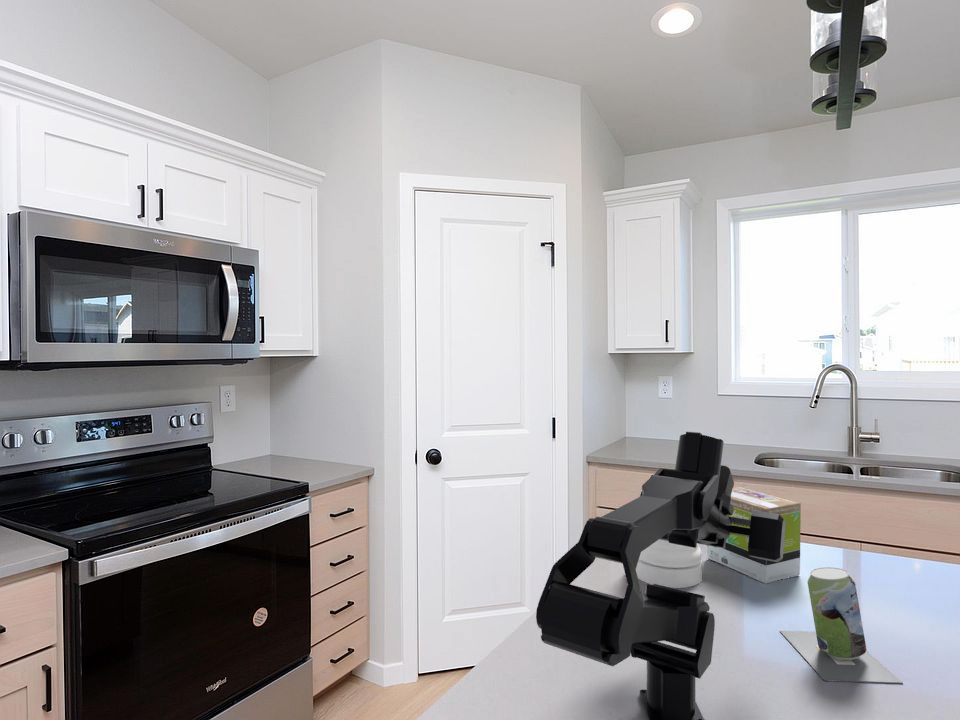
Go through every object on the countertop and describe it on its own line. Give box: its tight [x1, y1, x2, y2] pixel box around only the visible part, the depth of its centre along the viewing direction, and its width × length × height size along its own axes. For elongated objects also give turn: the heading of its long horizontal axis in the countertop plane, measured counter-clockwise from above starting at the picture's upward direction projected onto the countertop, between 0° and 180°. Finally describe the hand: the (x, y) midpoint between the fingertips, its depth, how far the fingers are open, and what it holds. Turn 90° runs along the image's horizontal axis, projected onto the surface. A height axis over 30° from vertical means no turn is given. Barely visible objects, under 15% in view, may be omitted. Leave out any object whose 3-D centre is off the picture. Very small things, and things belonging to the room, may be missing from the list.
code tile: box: [779, 630, 904, 685], centre depth 87 cm, size 14×10×1 cm
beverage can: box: [807, 566, 867, 660], centre depth 86 cm, size 6×7×12 cm
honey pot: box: [636, 539, 703, 589], centre depth 118 cm, size 13×13×18 cm
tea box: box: [706, 486, 802, 584], centre depth 121 cm, size 15×10×15 cm, turn 25°
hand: (726, 536), depth 93 cm, fingers open, 9 cm apart
